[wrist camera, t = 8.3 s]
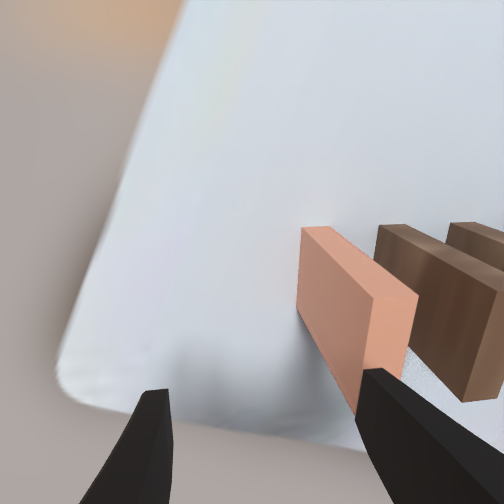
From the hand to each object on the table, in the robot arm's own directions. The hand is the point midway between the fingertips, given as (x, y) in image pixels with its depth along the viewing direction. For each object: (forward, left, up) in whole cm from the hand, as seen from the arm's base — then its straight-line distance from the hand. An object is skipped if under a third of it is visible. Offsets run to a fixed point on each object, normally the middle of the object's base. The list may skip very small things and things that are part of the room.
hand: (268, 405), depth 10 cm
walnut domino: (-9, -3, -9) cm, 13 cm away
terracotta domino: (-4, -2, -9) cm, 10 cm away
